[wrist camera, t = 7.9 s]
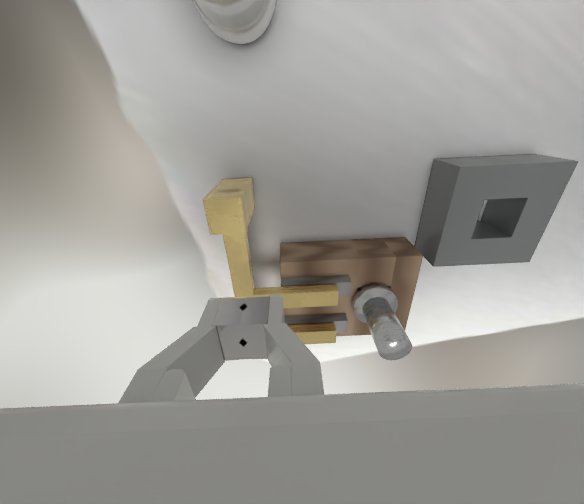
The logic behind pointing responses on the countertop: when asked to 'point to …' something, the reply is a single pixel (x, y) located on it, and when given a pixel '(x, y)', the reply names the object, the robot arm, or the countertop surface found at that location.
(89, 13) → the countertop surface
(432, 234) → the grey square holed piece
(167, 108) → the countertop surface
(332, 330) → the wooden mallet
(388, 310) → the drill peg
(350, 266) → the socket block
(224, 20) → the plastic bottle
